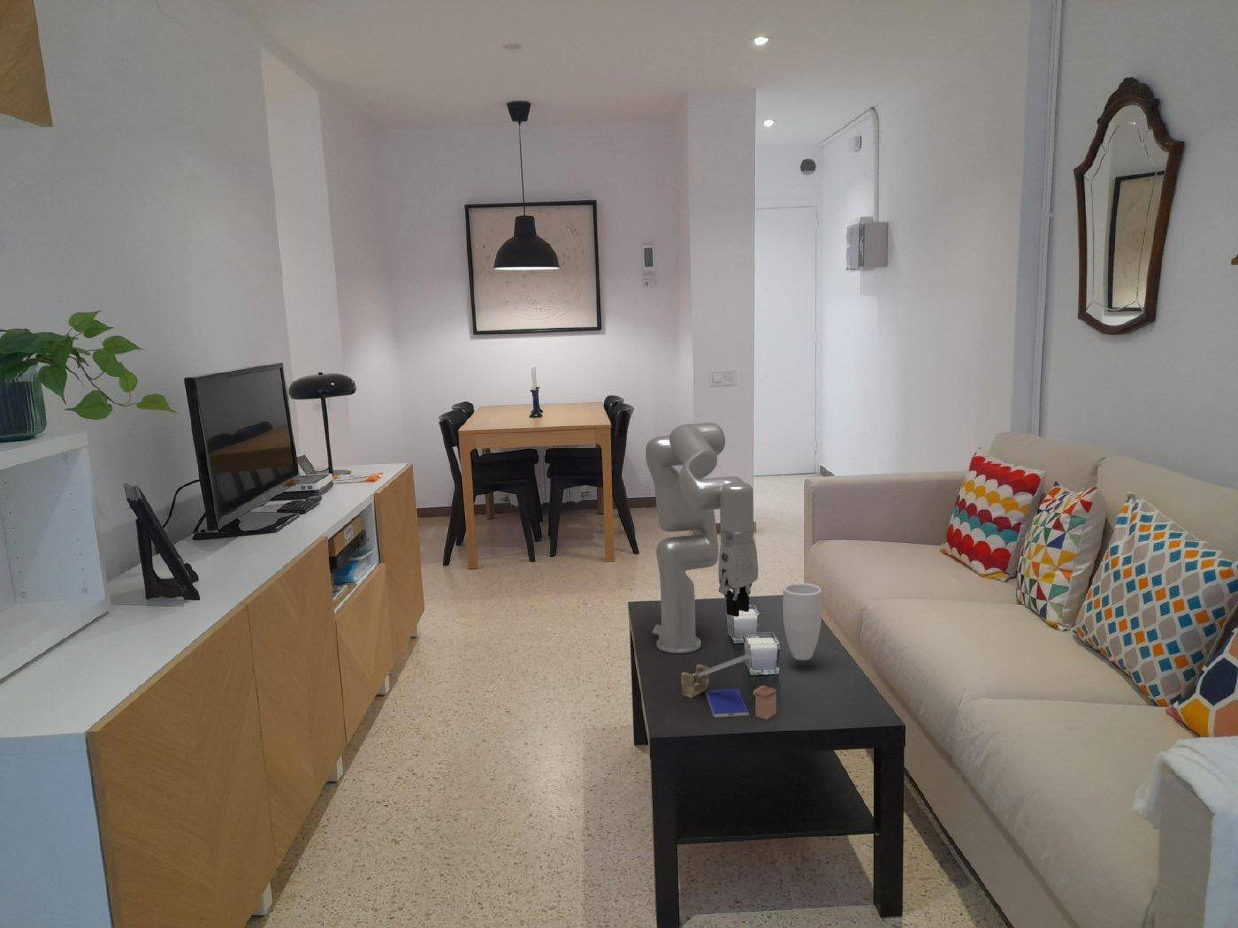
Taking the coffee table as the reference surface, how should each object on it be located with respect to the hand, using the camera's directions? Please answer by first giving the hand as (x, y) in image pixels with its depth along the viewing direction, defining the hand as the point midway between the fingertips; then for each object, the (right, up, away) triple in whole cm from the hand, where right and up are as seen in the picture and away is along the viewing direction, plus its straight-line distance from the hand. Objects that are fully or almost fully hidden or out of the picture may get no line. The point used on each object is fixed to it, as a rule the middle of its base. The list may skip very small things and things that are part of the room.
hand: (737, 612), depth 194 cm
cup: (+20, -19, +25) cm, 37 cm away
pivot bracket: (-9, -22, +12) cm, 27 cm away
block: (+6, -24, -1) cm, 24 cm away
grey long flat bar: (-3, -15, +6) cm, 16 cm away
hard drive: (-2, -24, +5) cm, 24 cm away
